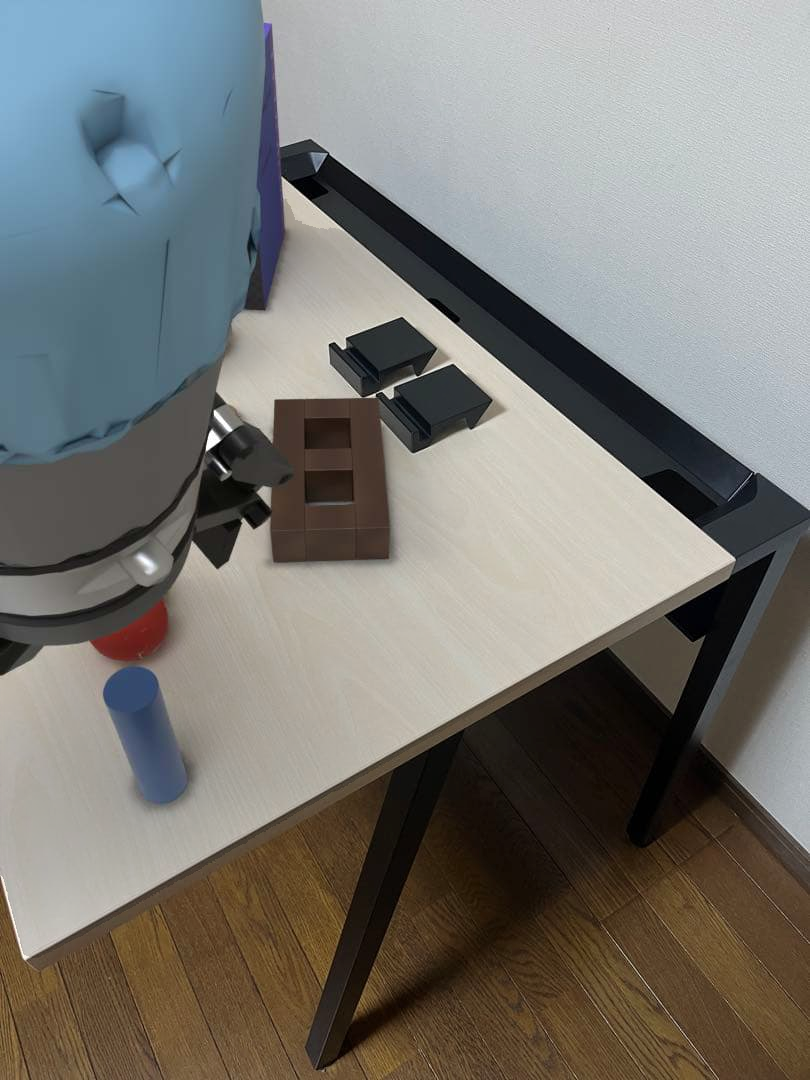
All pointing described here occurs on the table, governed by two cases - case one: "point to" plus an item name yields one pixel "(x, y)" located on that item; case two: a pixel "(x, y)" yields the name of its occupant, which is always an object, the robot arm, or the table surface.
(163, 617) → the kendama
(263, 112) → the cereal box
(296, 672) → the table surface
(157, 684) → the peg
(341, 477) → the rack
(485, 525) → the table surface
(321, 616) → the table surface
